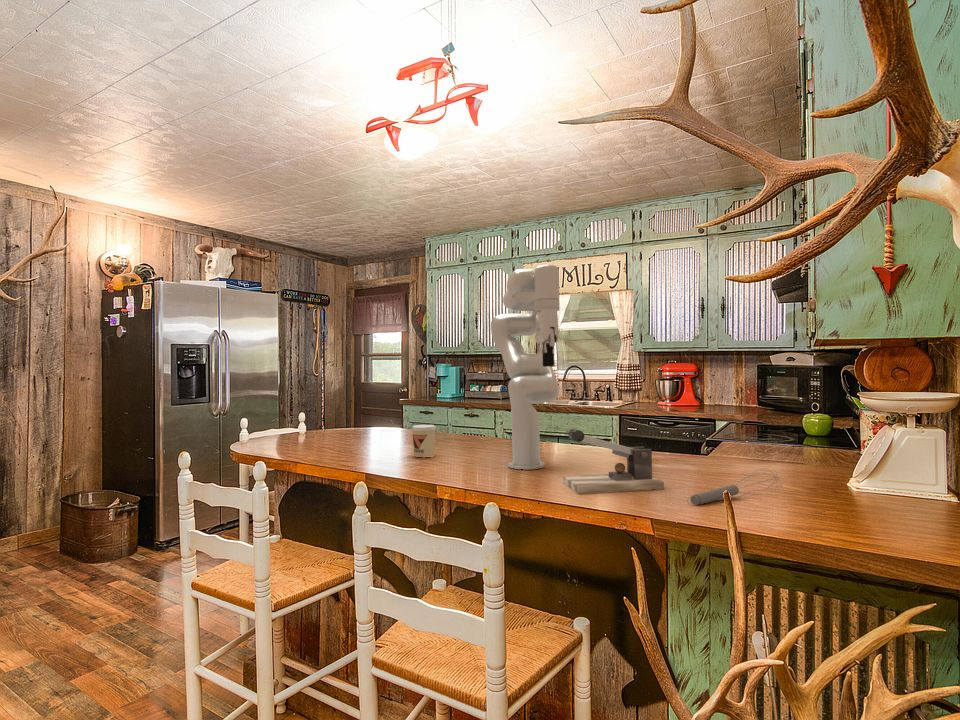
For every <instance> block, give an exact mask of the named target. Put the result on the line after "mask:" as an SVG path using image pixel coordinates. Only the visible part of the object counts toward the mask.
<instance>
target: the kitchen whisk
mask: <svg viewBox="0 0 960 720" xmlns="http://www.w3.org/2000/svg"><path fill="white" fill-rule="evenodd" d="M760 470H763V468H759V469H756V470H754V471H752V472H750V473H749V474H746V476H744V477H742V478H741V479H740V480H738V481H737V482H736V483H735V484H730V485H726V486H722V487H718V488H714V489H711V490H707V491H703V492H699V493H696V494H691V495H690V498H687V501H686V502H687V504H688V505H689V506H690V505H691V504H692V505H693V504H695V505H694V506H699V505H698V504H701V505H704V503H705V504H708V503H711V502H712V503H713V502H715V501H718V500H722V499H724V498H723V492H724V491H725V490H727V491H729V493H730V495H731V496H730V497H732V496H733V497H734V496H736V495H738V494H743V495H747V492H744V491H740V489H743V488H747V487H750V486H751V487H752V486H754V485H758V484H761V483H765V482H769V481H773V480H774V481H773V482H772V484H770V486H768V487H767V488H764V489H763V491H768V490H770V487H772V486H773V484H774V483H775V481H776V483H778V481H779V482H780V485H776V487H773V488H771V490H772V491H771V493H774V492H775V491H776V489H777V488H779V487H780V486H781V485H782V480H780V479H779V478H781V476H778V473H777V471H776V470H774V469H773V470H772V469H771V470H770V469H767V468H765V470H766V471H764V472H760V473H755V472H757V471H760ZM767 472H770V473H772V472H775V473H776V474H774V473H772V474H773V475H772V474H769V473H767ZM753 473H755V474H753ZM762 474H763V475H764V474H766V475H768V476H772V477H773V478H770V479H766V480H762V481H759V482H755V483H751V484H748V485H744V486H740V485H742V484H744V483H745V482H747V481H749V480H752V479H753V478H755V477H758V476H760V475H762ZM750 477H751V478H750ZM747 478H748V479H747ZM744 480H745V481H744ZM777 480H778V481H777ZM742 481H743V482H742ZM739 486H740V487H739ZM759 491H762V489H758V490H757V489H756V490H755V489H753V490H752V491H749V494H751V495H753V496H754V495H755V496H758V495H757V494H758V493H751V492H759ZM689 499H690V503H691V504H690V503H689Z"/></svg>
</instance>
